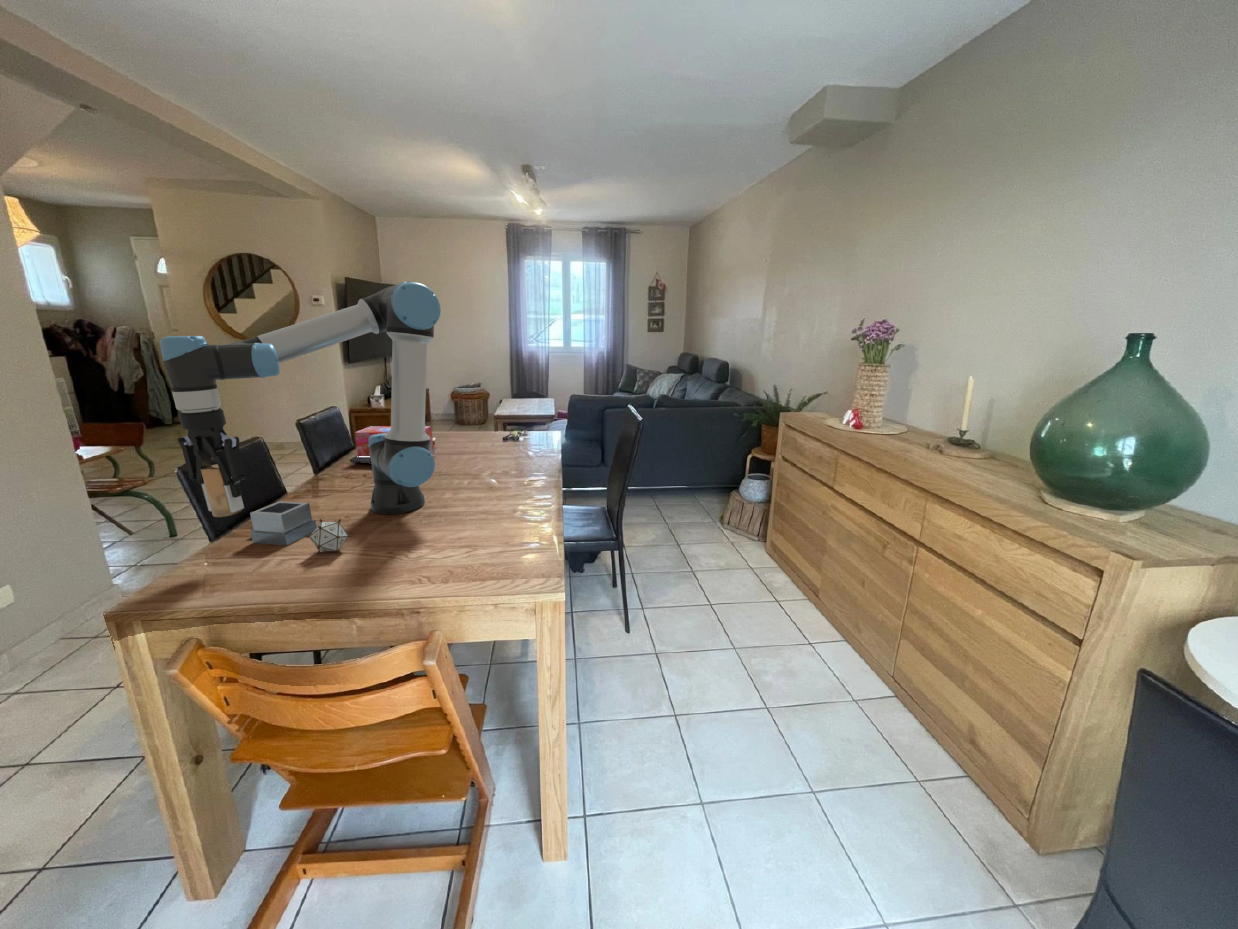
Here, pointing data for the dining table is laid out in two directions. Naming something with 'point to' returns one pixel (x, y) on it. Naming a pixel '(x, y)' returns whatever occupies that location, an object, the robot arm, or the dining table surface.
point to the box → (365, 433)
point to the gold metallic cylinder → (216, 491)
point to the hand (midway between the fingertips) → (226, 509)
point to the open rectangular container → (282, 523)
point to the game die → (328, 536)
